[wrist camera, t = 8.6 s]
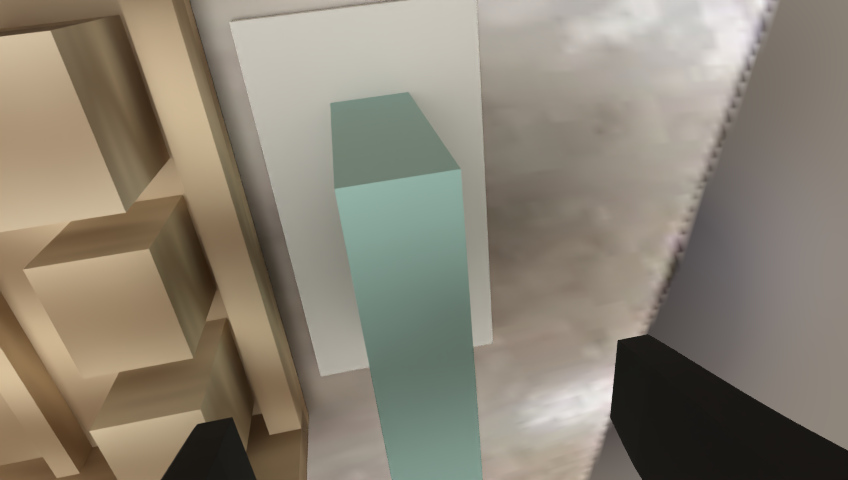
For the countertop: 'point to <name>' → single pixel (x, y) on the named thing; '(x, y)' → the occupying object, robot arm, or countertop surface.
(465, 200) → the mat
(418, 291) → the board
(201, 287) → the block
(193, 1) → the countertop surface
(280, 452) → the rack
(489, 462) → the countertop surface
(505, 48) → the countertop surface
